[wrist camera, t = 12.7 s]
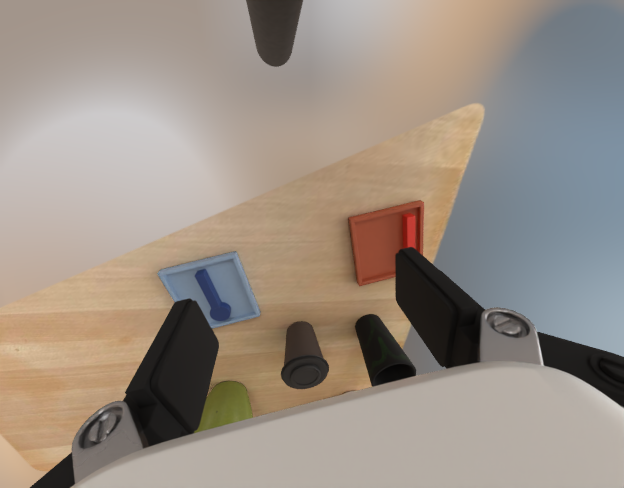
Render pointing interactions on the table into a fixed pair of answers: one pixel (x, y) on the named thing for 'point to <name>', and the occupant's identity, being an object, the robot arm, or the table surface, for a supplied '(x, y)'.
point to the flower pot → (225, 406)
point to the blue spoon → (212, 297)
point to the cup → (382, 352)
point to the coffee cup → (303, 358)
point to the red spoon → (408, 230)
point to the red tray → (382, 240)
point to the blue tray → (225, 280)
